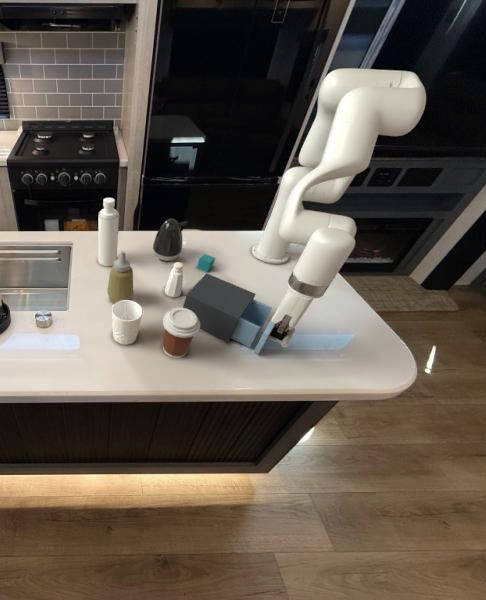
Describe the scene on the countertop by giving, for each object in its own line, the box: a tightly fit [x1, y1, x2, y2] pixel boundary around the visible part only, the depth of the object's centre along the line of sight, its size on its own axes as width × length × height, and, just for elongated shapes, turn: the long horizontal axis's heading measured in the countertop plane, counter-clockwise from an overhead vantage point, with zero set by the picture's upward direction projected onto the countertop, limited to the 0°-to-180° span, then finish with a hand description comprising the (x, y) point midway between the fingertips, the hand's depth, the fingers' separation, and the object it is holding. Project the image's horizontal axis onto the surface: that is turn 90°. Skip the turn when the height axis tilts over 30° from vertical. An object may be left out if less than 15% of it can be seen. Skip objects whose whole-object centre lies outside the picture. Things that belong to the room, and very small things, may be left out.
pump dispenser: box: [152, 218, 188, 262], centre depth 111 cm, size 10×10×15 cm
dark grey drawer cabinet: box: [182, 272, 257, 344], centre depth 90 cm, size 15×13×10 cm
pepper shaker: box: [164, 262, 184, 298], centre depth 98 cm, size 5×5×11 cm
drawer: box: [231, 299, 296, 355], centre depth 85 cm, size 18×11×8 cm, turn 50°
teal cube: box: [196, 253, 216, 273], centre depth 110 cm, size 4×4×4 cm
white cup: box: [111, 299, 143, 346], centre depth 85 cm, size 8×8×10 cm
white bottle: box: [97, 197, 120, 267], centre depth 106 cm, size 7×7×25 cm
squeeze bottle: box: [106, 250, 134, 305], centre depth 93 cm, size 8×8×18 cm
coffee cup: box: [162, 307, 201, 359], centre depth 81 cm, size 9×9×12 cm
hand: (276, 336), depth 82 cm, fingers closed
